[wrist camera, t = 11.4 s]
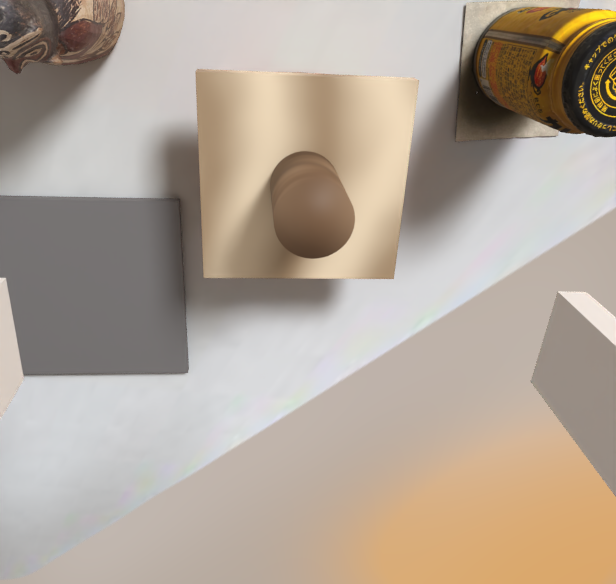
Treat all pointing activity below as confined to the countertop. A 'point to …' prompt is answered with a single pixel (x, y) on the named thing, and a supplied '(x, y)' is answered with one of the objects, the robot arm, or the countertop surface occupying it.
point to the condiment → (537, 70)
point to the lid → (302, 173)
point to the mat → (95, 284)
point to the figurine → (58, 30)
